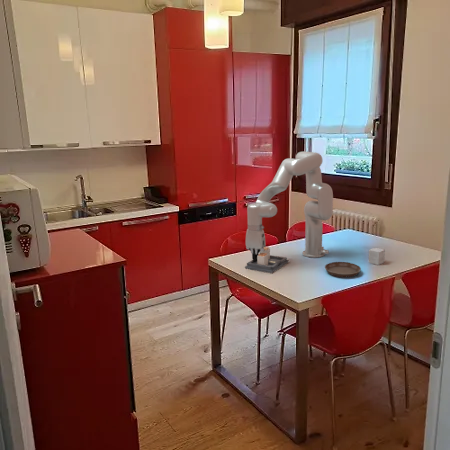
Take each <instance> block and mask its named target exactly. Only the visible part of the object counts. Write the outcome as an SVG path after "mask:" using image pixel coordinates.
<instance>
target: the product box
mask: <svg viewBox="0 0 450 450" xmlns="http://www.w3.org/2000/svg"><path fill="white" fill-rule="evenodd" d="M385 251H386V250H385V249H382V248H378V247H377V248H376V247H373V248H371V249H369V250H368V263H369V264H372V265H376V266H380V265H382V264H384V263H385Z"/></svg>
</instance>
